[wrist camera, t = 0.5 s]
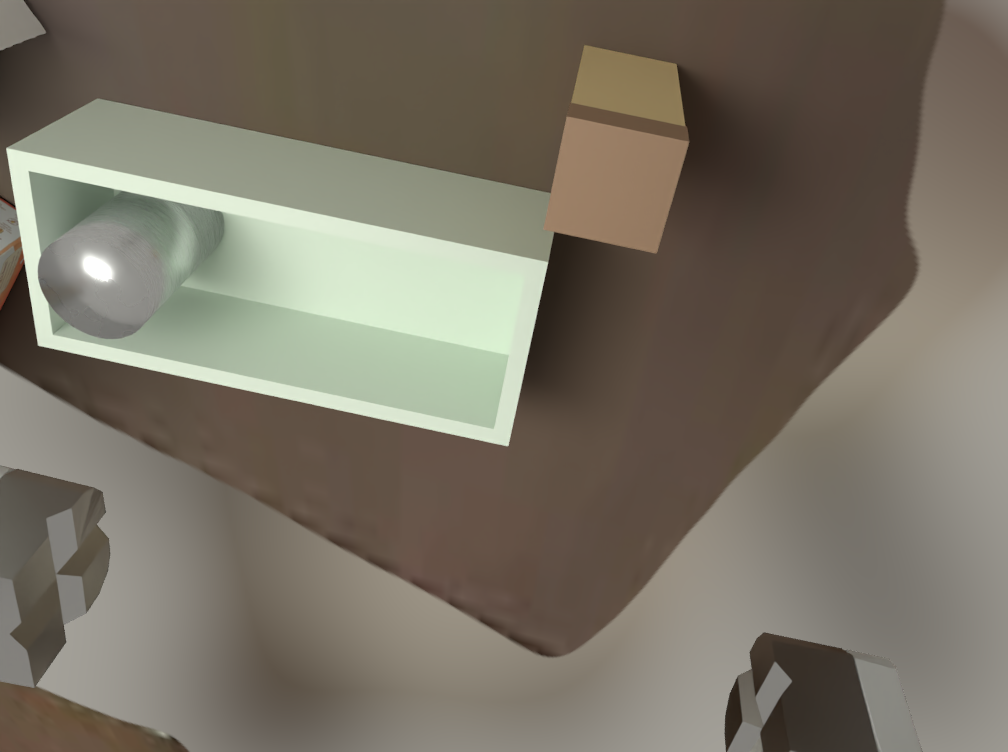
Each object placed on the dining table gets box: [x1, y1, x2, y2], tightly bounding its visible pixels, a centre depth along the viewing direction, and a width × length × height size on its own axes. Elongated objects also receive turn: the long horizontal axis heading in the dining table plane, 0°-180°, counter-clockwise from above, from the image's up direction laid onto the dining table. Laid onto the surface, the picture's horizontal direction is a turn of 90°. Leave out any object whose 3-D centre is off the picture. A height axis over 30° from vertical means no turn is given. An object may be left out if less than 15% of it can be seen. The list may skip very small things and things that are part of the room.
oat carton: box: [543, 45, 689, 253], centre depth 42 cm, size 5×5×13 cm
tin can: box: [38, 191, 224, 339], centre depth 50 cm, size 6×6×10 cm
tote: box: [6, 98, 554, 446], centre depth 51 cm, size 12×28×9 cm, turn 80°
